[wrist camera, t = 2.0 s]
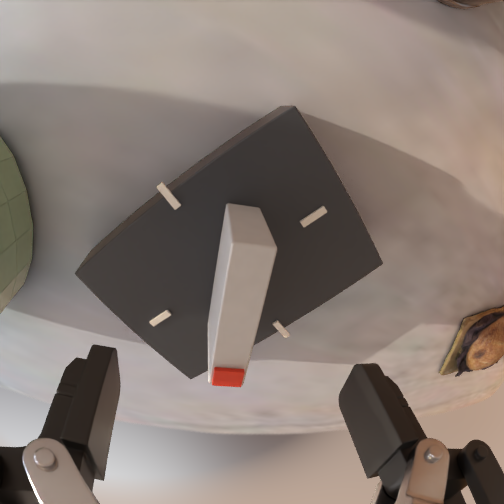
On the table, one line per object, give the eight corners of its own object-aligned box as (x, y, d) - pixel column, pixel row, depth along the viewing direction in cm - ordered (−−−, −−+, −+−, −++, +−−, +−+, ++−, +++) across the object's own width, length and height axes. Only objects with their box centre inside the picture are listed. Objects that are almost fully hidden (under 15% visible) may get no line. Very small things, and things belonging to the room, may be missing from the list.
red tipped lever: (226, 202, 14) (231, 245, 10) (260, 207, 15) (279, 250, 11) (207, 323, 17) (208, 387, 13) (235, 326, 18) (243, 390, 13)
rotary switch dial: (275, 96, 15) (288, 93, 13) (366, 249, 20) (388, 272, 17) (84, 243, 18) (65, 267, 15) (197, 354, 22) (196, 386, 19)
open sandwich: (433, 374, 28) (449, 398, 25) (463, 311, 24) (485, 335, 21) (492, 355, 29) (507, 374, 26) (520, 299, 26) (539, 317, 22)
